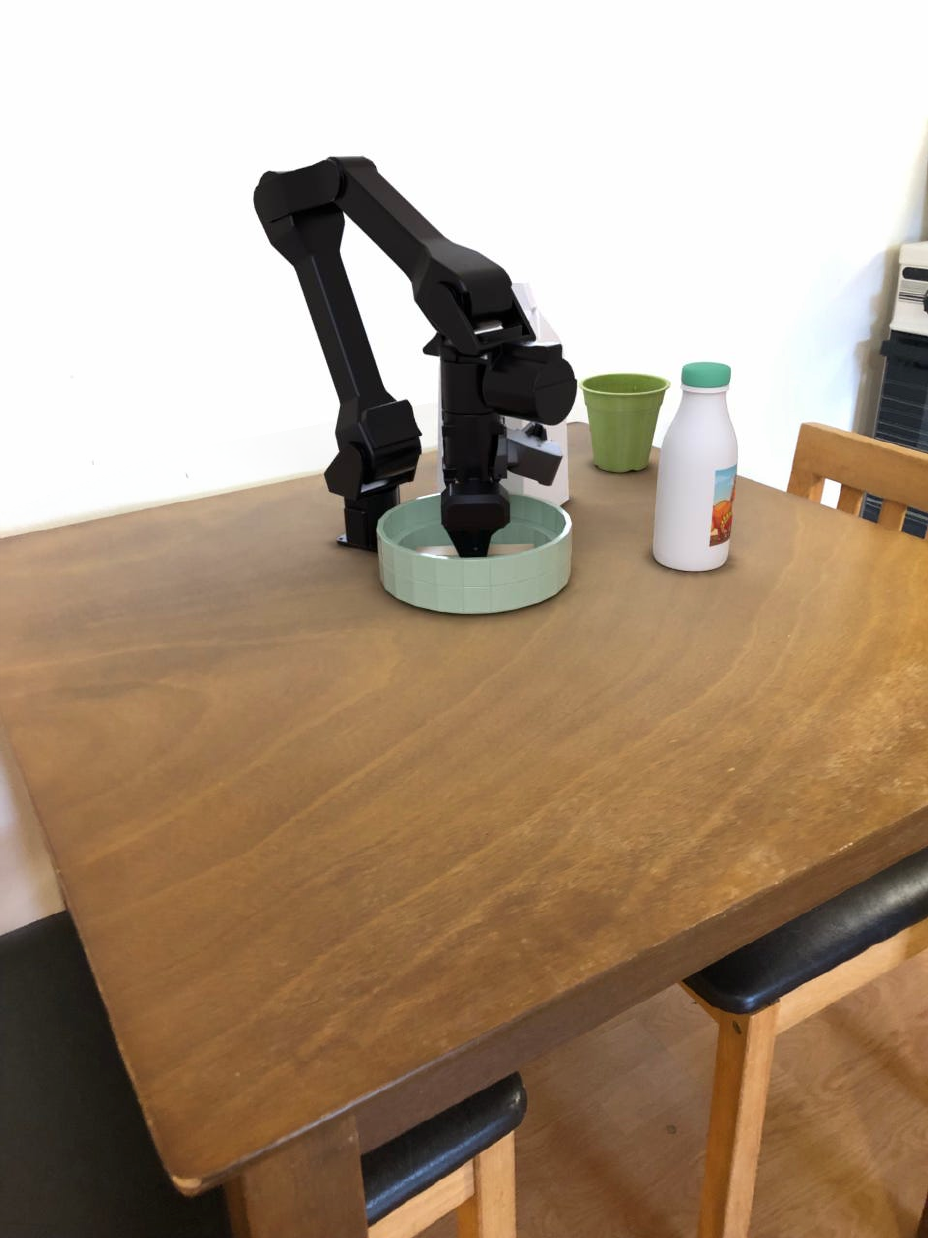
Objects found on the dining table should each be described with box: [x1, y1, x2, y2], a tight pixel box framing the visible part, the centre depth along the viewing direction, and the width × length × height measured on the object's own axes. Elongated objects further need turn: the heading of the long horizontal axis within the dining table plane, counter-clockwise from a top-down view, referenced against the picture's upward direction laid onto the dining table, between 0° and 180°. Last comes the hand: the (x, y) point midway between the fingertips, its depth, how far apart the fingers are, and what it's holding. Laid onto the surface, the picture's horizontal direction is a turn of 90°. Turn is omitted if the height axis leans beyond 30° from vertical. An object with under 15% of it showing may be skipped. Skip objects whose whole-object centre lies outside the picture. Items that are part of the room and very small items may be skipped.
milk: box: [436, 280, 570, 507], centre depth 108 cm, size 12×12×26 cm
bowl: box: [377, 492, 573, 615], centre depth 94 cm, size 19×19×6 cm
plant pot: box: [578, 372, 672, 474], centre depth 124 cm, size 12×12×11 cm
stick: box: [416, 544, 535, 558], centre depth 94 cm, size 12×2×2 cm, turn 91°
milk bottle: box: [652, 361, 739, 572], centre depth 93 cm, size 8×8×20 cm
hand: (475, 560), depth 94 cm, fingers open, 9 cm apart
